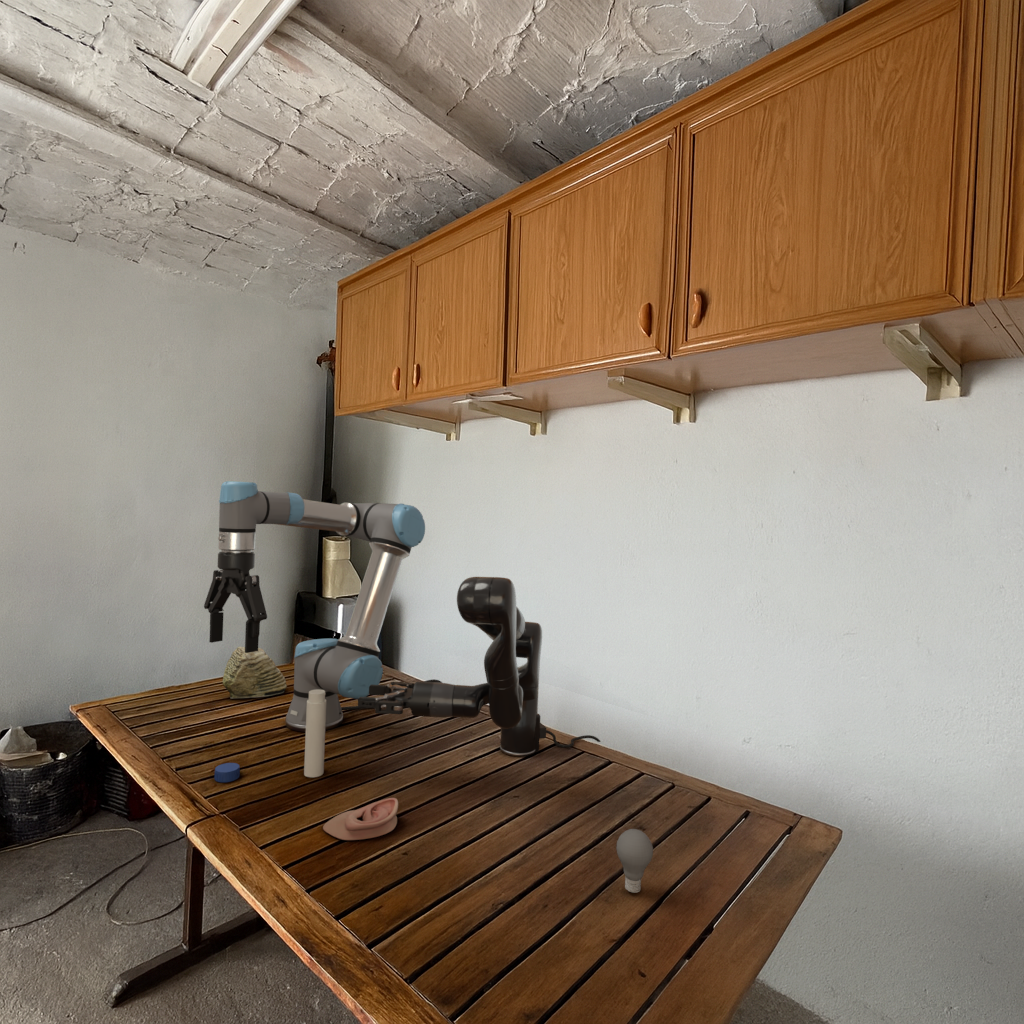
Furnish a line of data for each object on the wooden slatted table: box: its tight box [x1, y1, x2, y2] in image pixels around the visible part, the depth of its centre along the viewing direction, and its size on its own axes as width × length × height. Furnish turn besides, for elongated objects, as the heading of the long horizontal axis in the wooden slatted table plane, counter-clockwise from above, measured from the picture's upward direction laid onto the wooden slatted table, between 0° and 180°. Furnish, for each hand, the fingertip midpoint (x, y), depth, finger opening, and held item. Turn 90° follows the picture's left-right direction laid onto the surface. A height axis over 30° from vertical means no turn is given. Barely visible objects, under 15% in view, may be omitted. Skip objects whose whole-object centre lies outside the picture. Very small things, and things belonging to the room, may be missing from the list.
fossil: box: [222, 646, 288, 699], centre depth 198 cm, size 9×18×15 cm, turn 132°
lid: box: [213, 762, 241, 783], centre depth 141 cm, size 5×5×2 cm
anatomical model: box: [322, 797, 399, 841], centre depth 122 cm, size 13×4×12 cm
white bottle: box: [303, 689, 326, 778], centre depth 145 cm, size 4×4×19 cm
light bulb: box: [615, 828, 654, 894], centre depth 106 cm, size 6×6×10 cm
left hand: (233, 646), depth 141 cm, fingers open, 13 cm apart
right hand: (364, 695), depth 144 cm, fingers open, 8 cm apart
